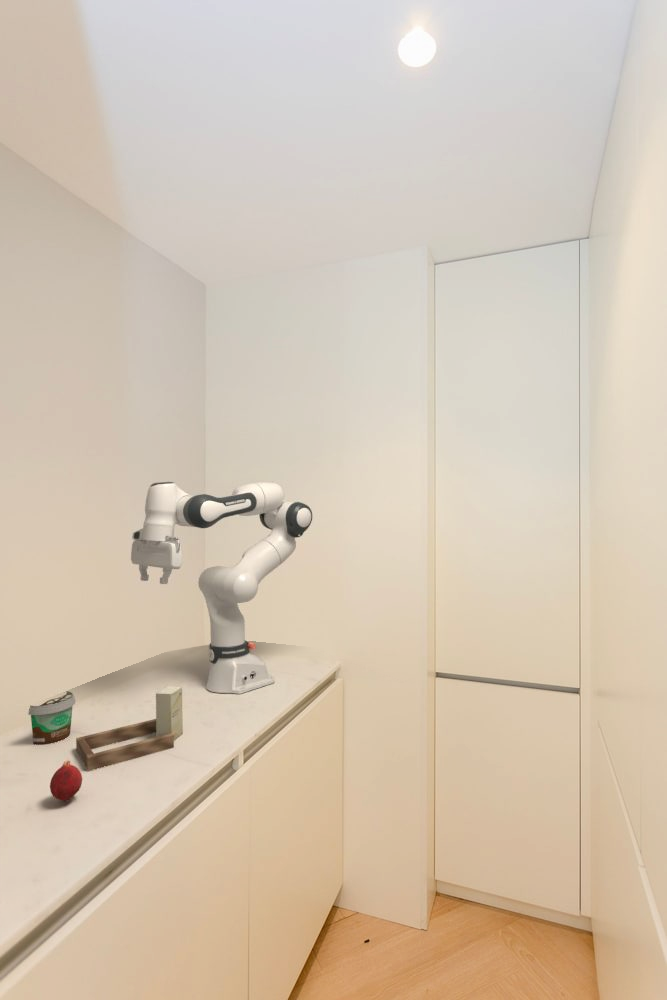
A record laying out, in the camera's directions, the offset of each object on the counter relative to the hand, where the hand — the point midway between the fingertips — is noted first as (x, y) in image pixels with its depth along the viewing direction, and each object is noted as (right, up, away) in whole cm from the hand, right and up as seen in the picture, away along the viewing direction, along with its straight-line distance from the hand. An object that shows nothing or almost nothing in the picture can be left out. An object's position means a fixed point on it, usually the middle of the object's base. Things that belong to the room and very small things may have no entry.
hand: (153, 582), depth 158 cm
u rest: (+2, -37, -27) cm, 46 cm away
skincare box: (+11, -37, -21) cm, 44 cm away
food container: (-18, -37, -21) cm, 46 cm away
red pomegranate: (-1, -37, -50) cm, 62 cm away
